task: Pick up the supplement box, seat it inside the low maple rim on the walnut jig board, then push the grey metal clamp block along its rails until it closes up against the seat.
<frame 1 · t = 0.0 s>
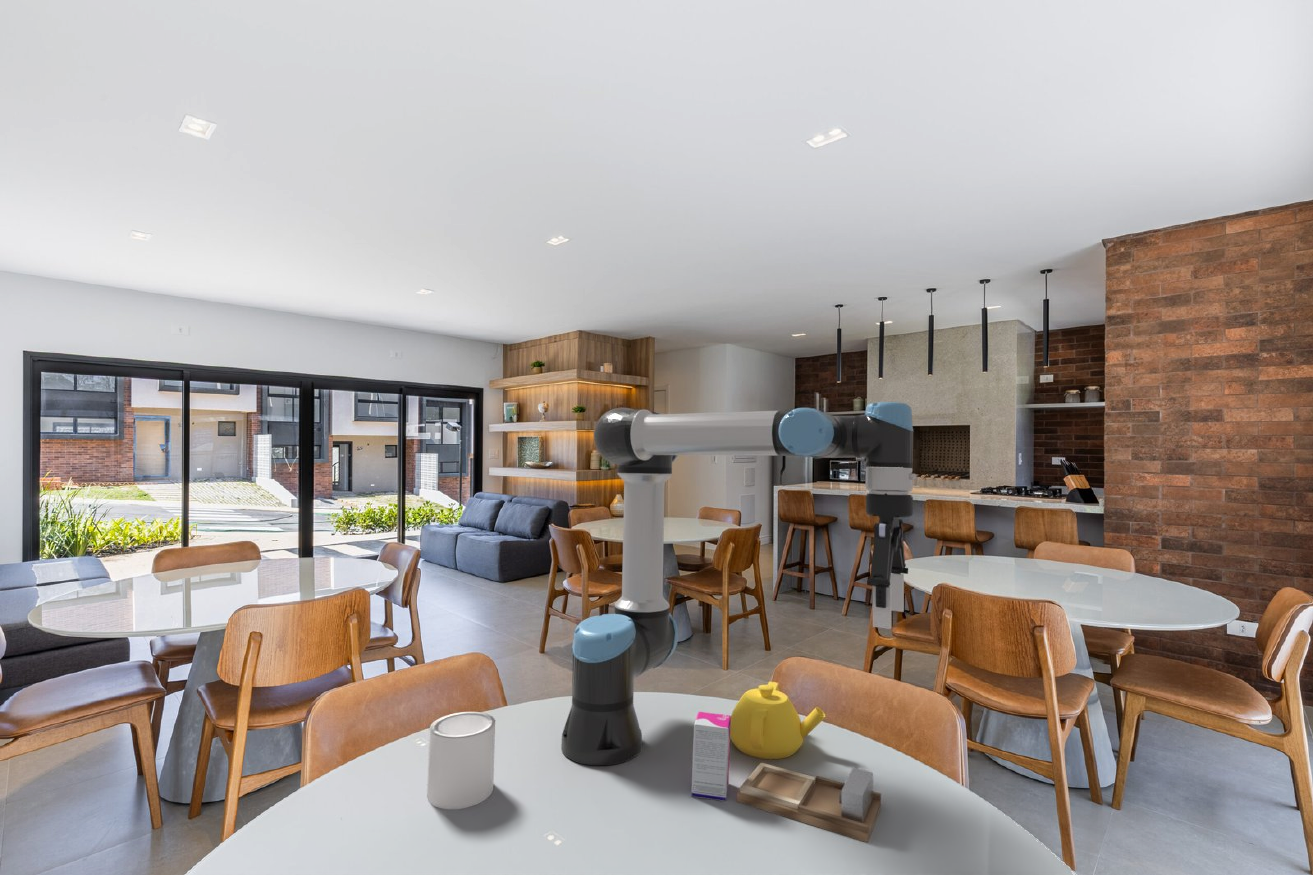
hand: (889, 618, 103), 28 cm above the table, fingers open, 13 cm apart
clamp block: (855, 794, 93), point 3 cm above the table, slide at 0.0 cm
jig board: (808, 803, 96), on the table
supplement box: (710, 791, 100), on the table
teapot: (776, 747, 116), on the table
mug: (461, 789, 99), on the table
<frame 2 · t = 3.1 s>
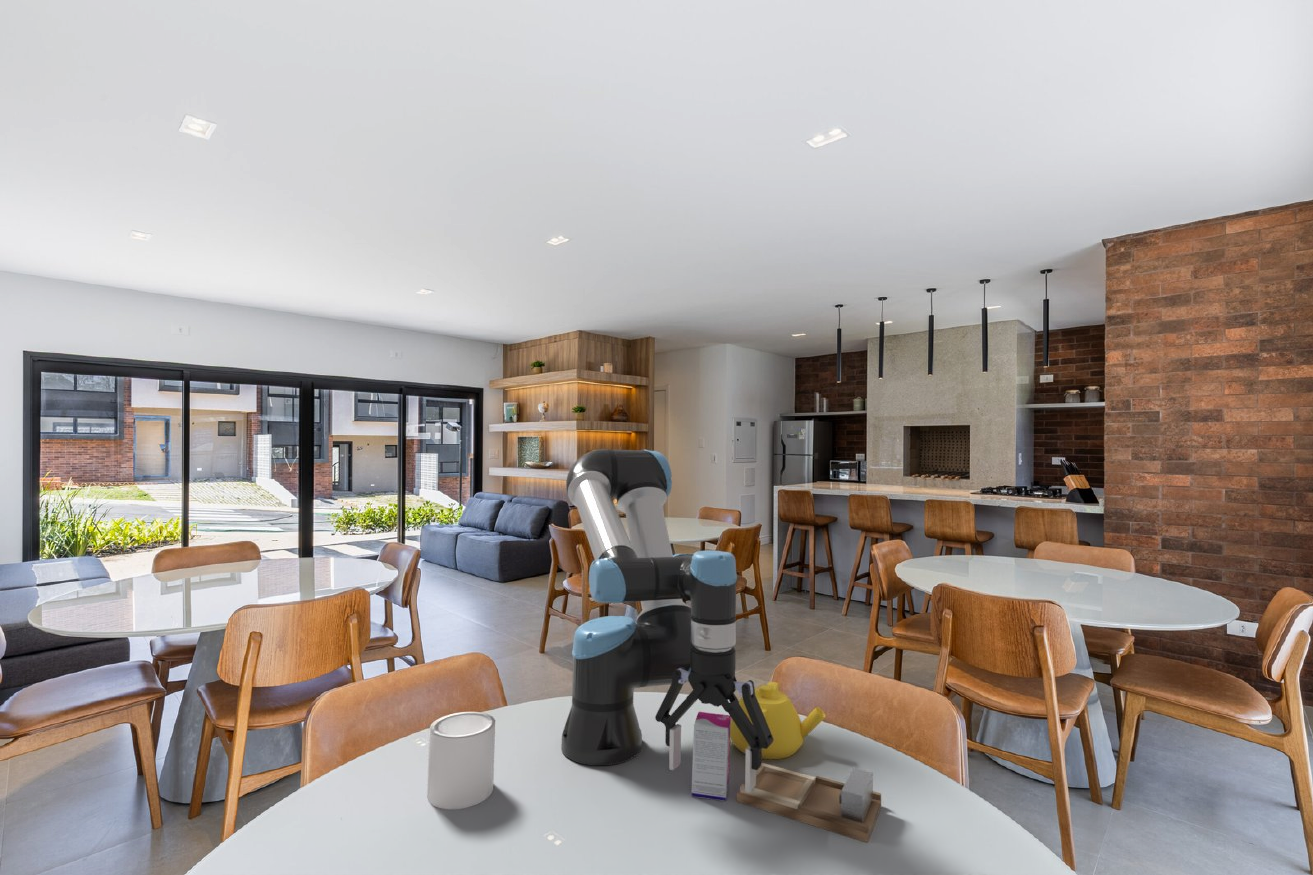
hand: (711, 777, 100), 2 cm above the table, fingers open, 13 cm apart
nothing on the table moved.
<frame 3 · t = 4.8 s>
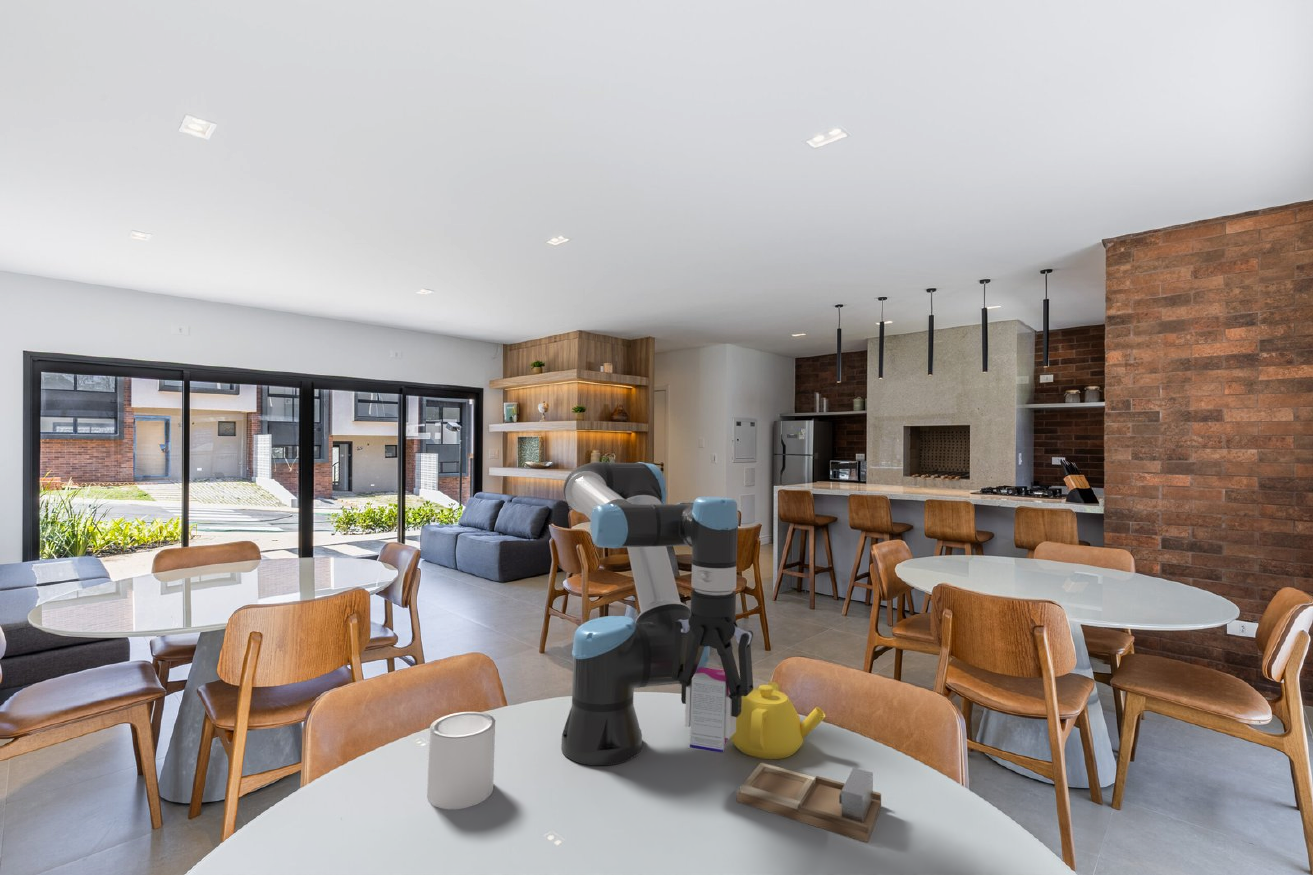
hand: (710, 729, 101), 10 cm above the table, fingers closed on supplement box, 7 cm apart
supplement box: (710, 744, 101), point 7 cm above the table, touching gripper
everything else where it was.
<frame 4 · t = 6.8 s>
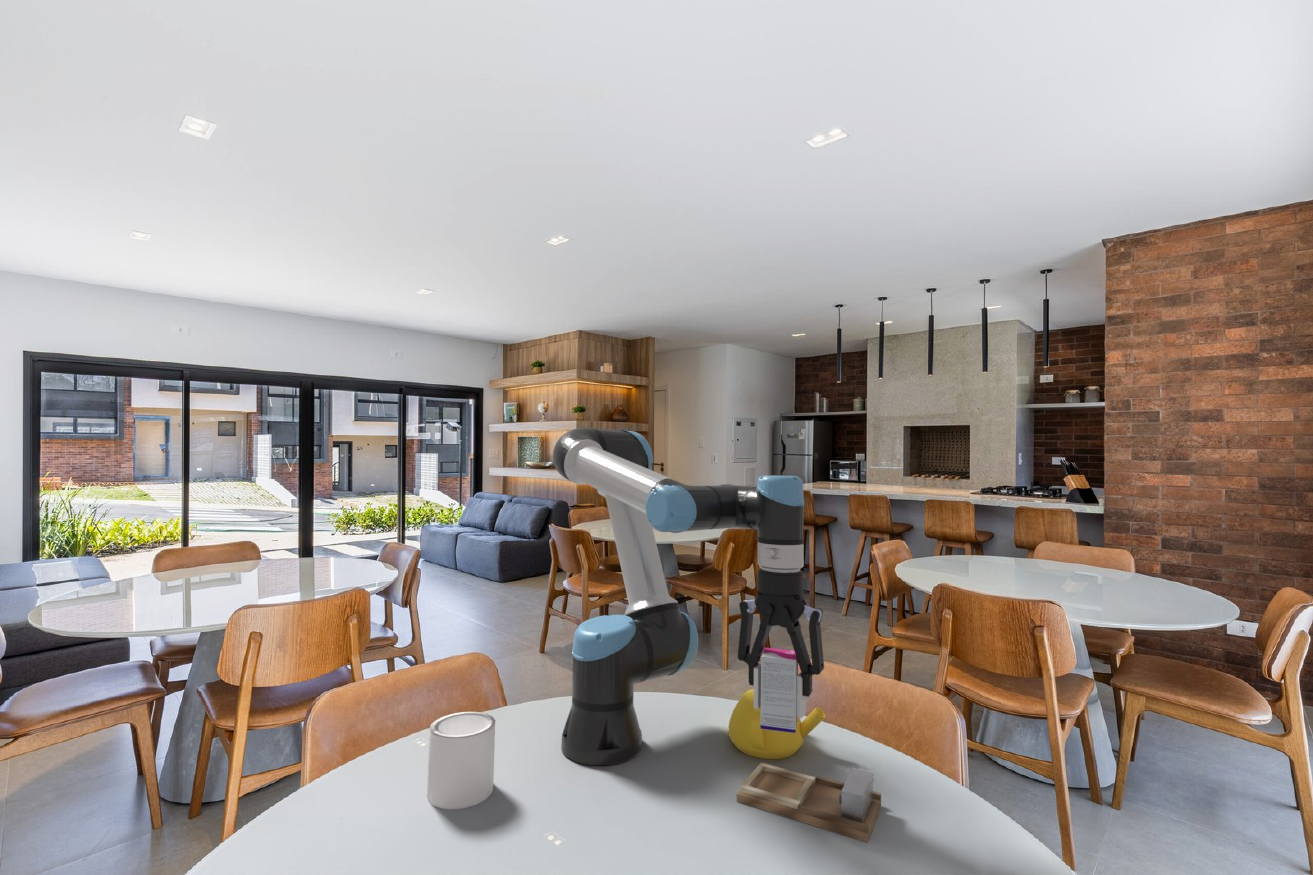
hand: (779, 710, 99), 14 cm above the table, fingers closed on supplement box, 7 cm apart
supplement box: (779, 725, 99), point 11 cm above the table, touching gripper
everything else where it was.
when the fingers open (4 cm above the table, at t = 8.8 s): supplement box stays where it is, resting on jig board.
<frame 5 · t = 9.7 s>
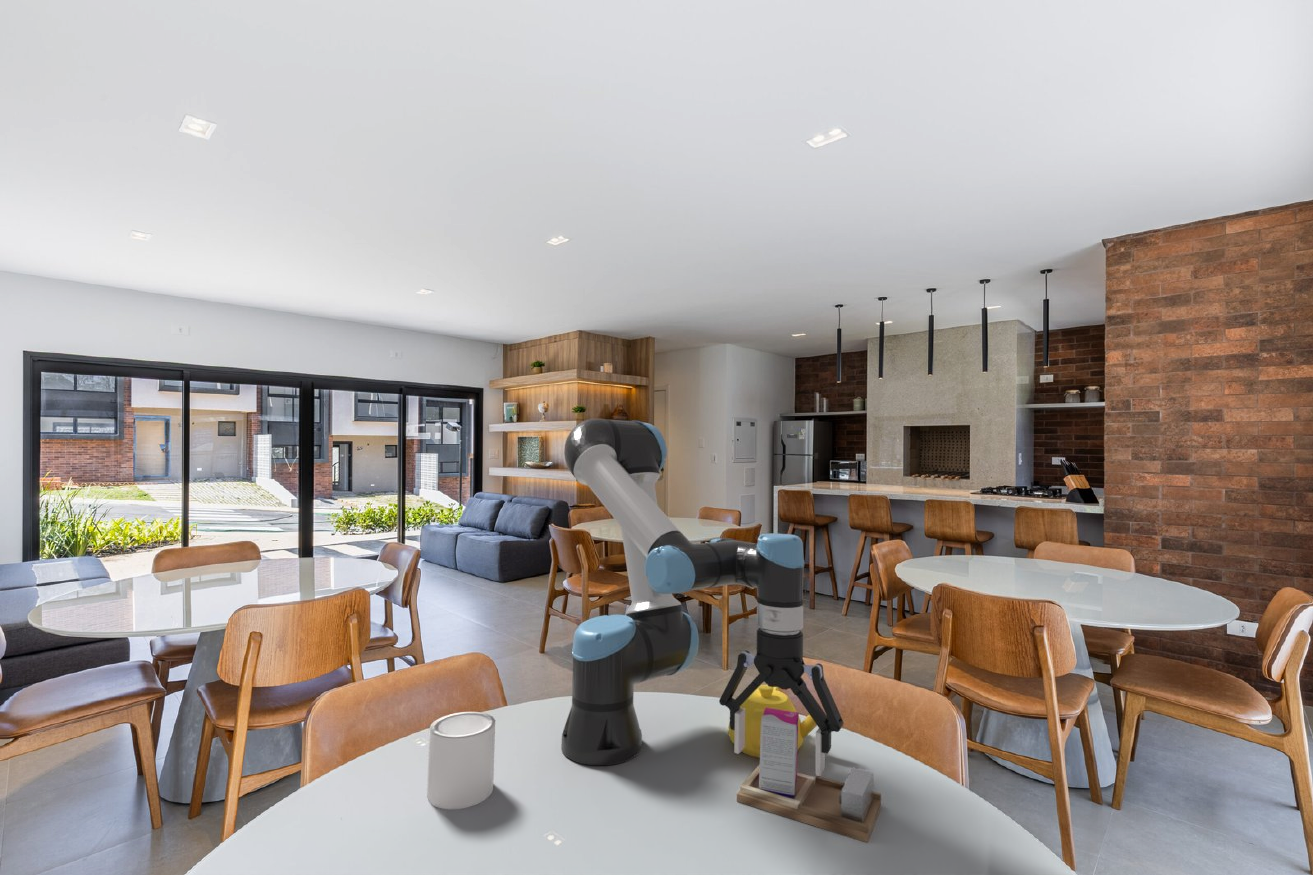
hand: (778, 760, 99), 5 cm above the table, fingers open, 13 cm apart
supplement box: (778, 788, 99), point 1 cm above the table, touching jig board
everything else where it was.
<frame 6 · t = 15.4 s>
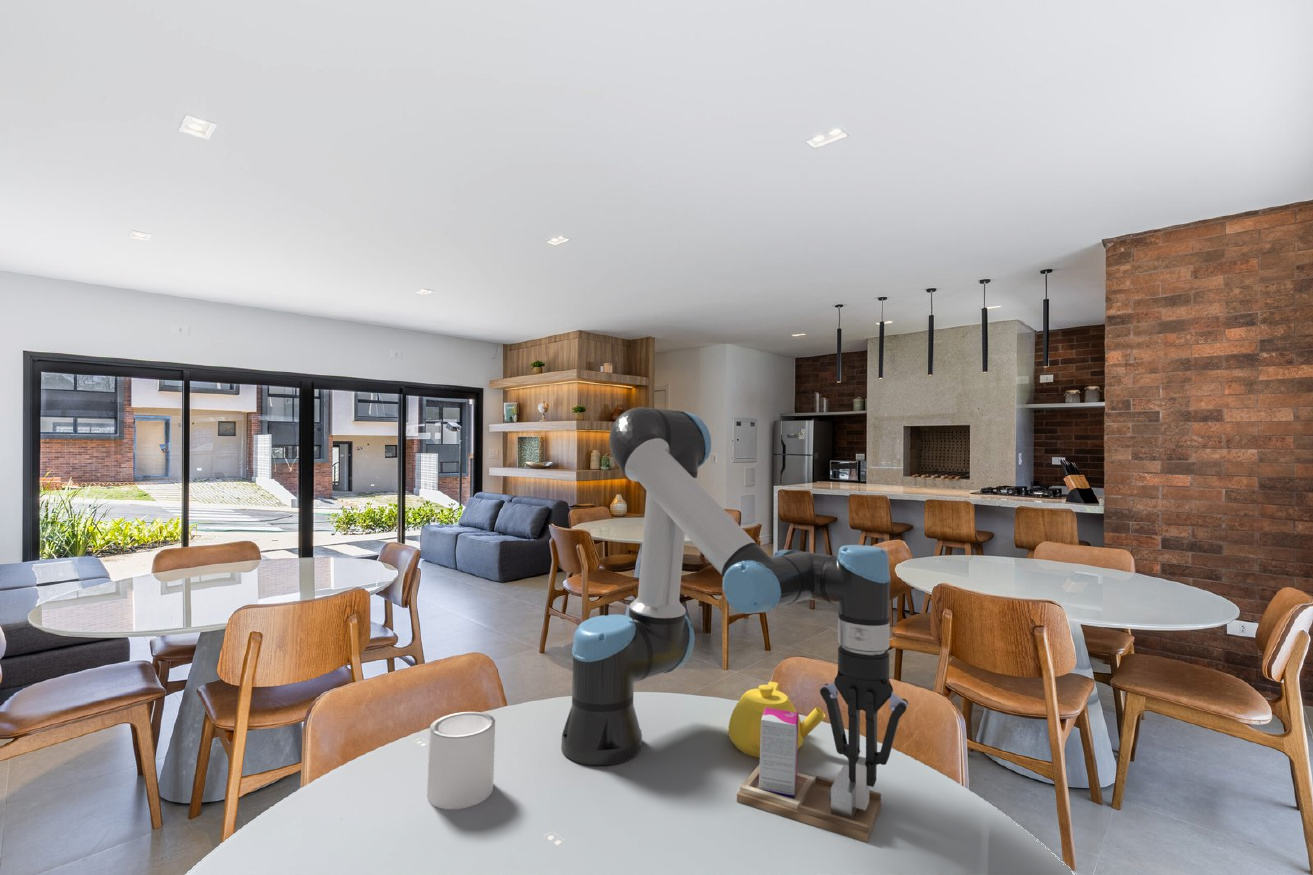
hand: (862, 804, 92), 2 cm above the table, fingers closed
clamp block: (845, 791, 94), point 4 cm above the table, slide at 1.5 cm, touching gripper
everything else where it was.
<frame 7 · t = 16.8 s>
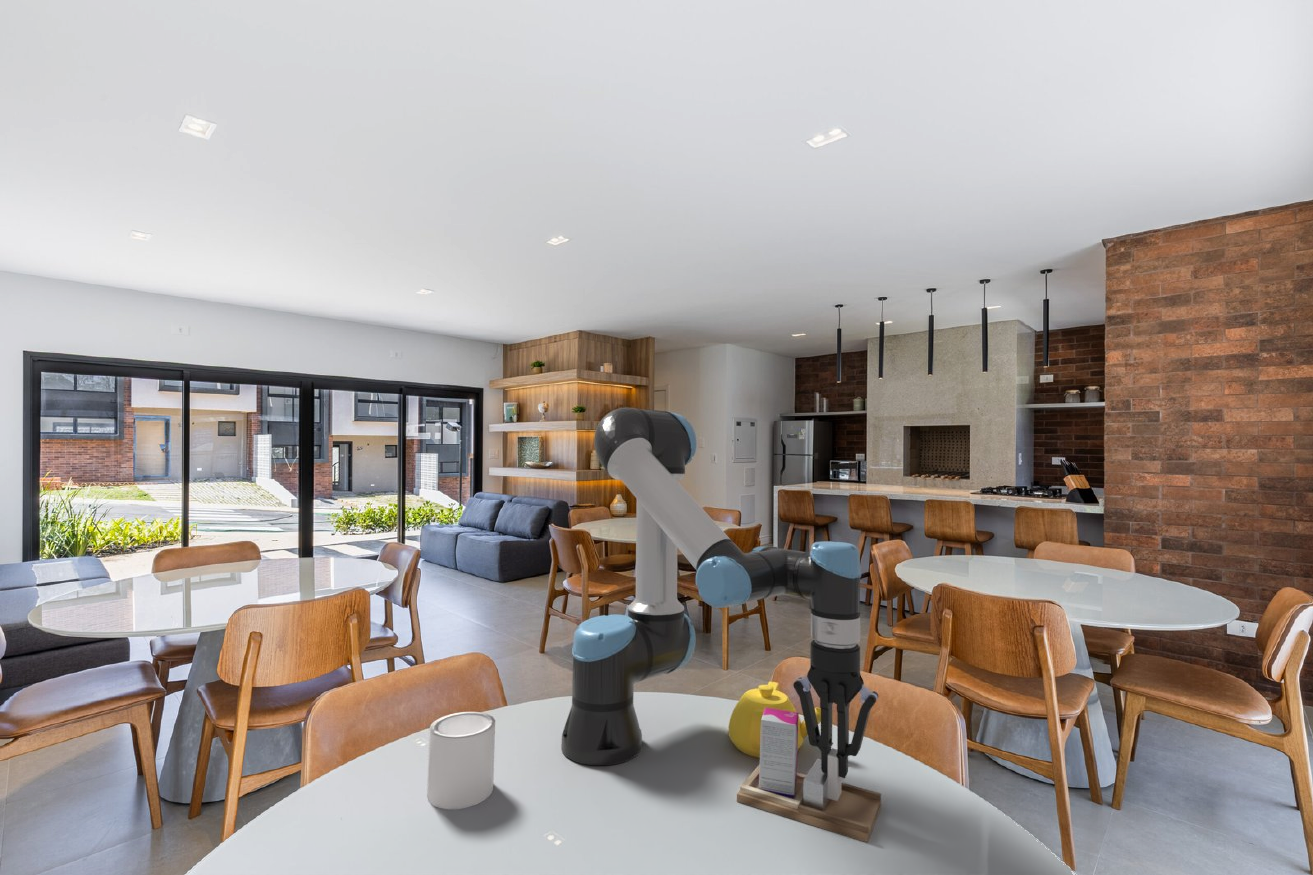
hand: (834, 795, 94), 2 cm above the table, fingers closed
clamp block: (818, 783, 96), point 3 cm above the table, slide at 5.7 cm, touching gripper
everything else where it was.
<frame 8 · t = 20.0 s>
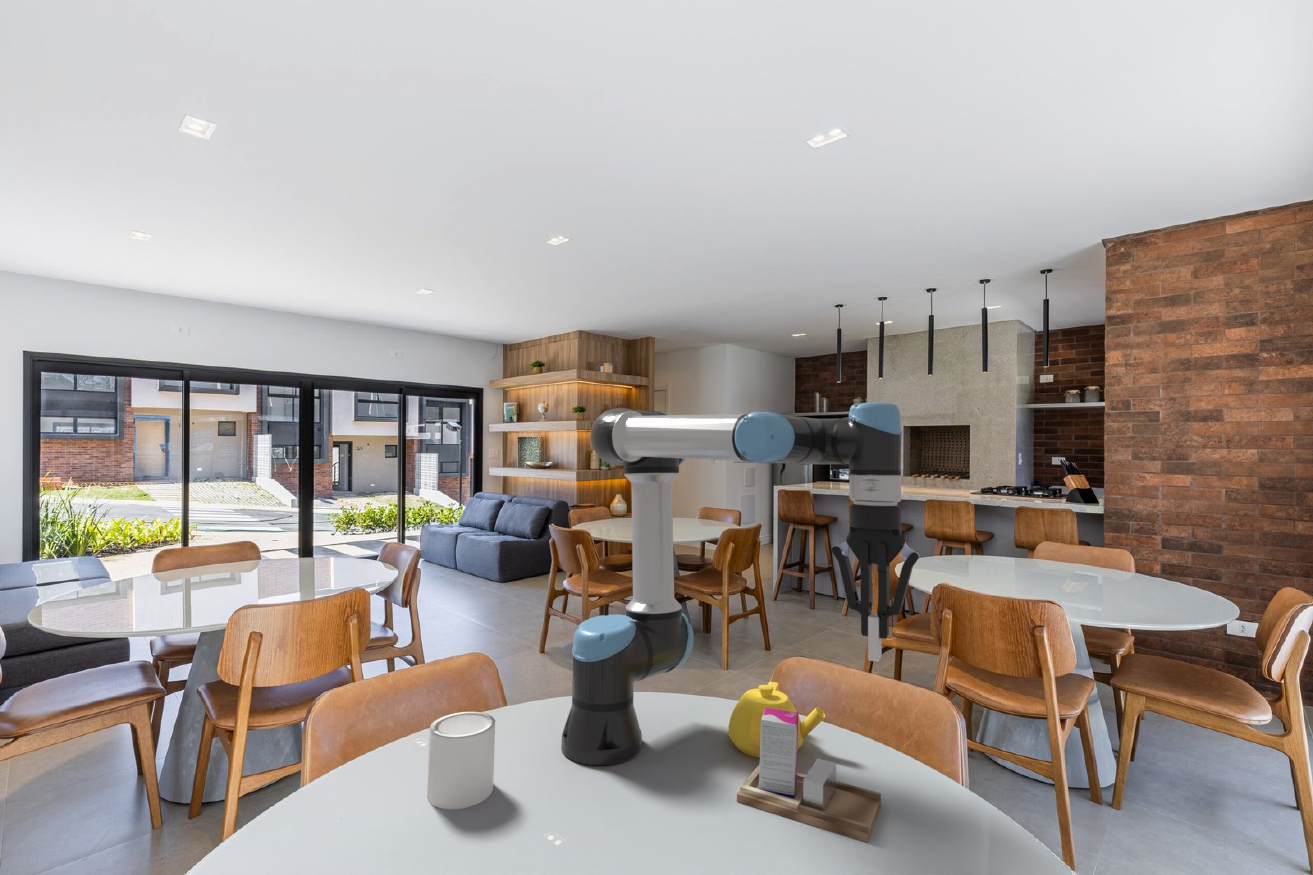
hand: (874, 658, 92), 24 cm above the table, fingers closed
clamp block: (818, 783, 96), point 3 cm above the table, slide at 5.7 cm
everything else where it was.
at the end: supplement box 0.0 cm from the target spot on the jig board, point 1.0 cm above the jig board's base; supplement box tilted 0°; clamp block slide at 5.7 cm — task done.
